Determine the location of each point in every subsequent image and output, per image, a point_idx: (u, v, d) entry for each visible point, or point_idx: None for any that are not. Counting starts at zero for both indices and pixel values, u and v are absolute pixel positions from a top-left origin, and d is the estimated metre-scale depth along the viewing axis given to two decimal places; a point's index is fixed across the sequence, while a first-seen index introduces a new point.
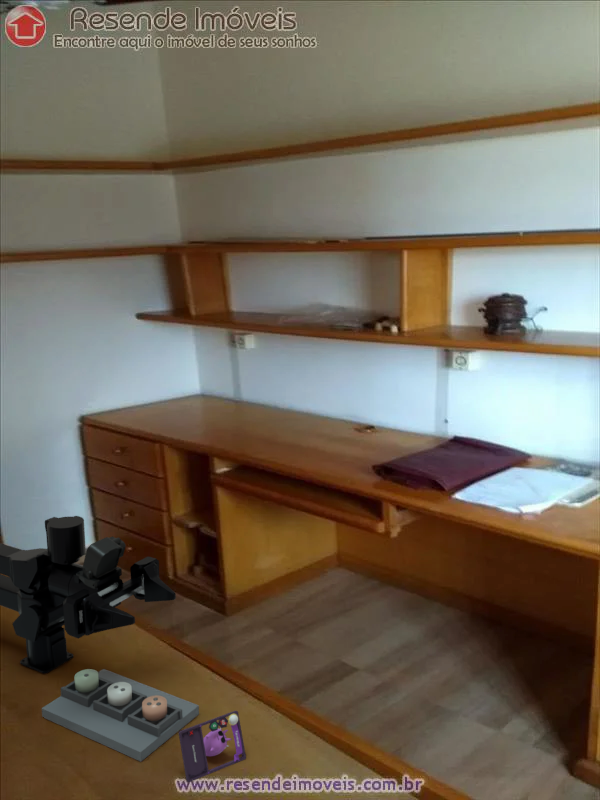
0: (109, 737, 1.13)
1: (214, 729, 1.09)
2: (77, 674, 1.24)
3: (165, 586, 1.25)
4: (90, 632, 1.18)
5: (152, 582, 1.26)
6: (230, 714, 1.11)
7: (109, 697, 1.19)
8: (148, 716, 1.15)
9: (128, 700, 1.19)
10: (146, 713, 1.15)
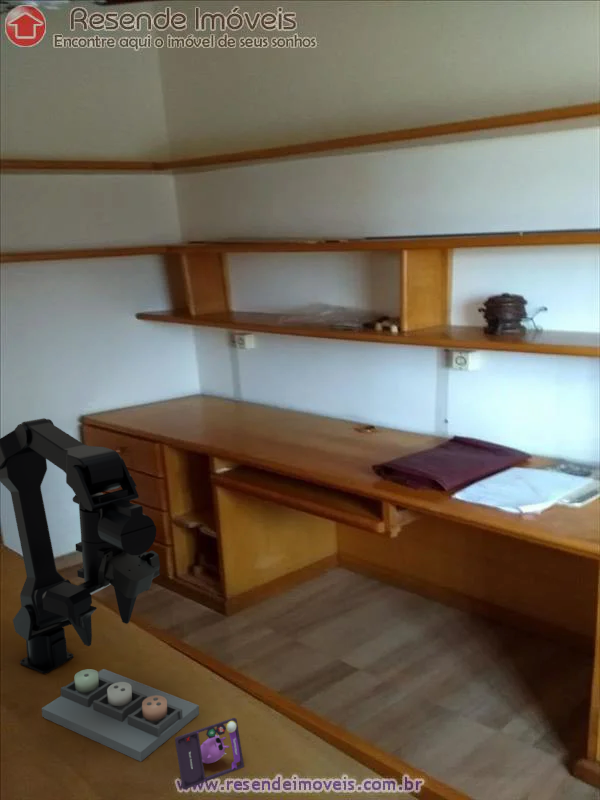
0: (109, 737, 1.13)
1: (211, 736, 1.08)
2: (77, 674, 1.24)
3: (131, 609, 1.22)
4: None
5: None
6: (228, 721, 1.09)
7: (109, 697, 1.19)
8: (148, 716, 1.15)
9: (128, 700, 1.19)
10: (146, 713, 1.15)
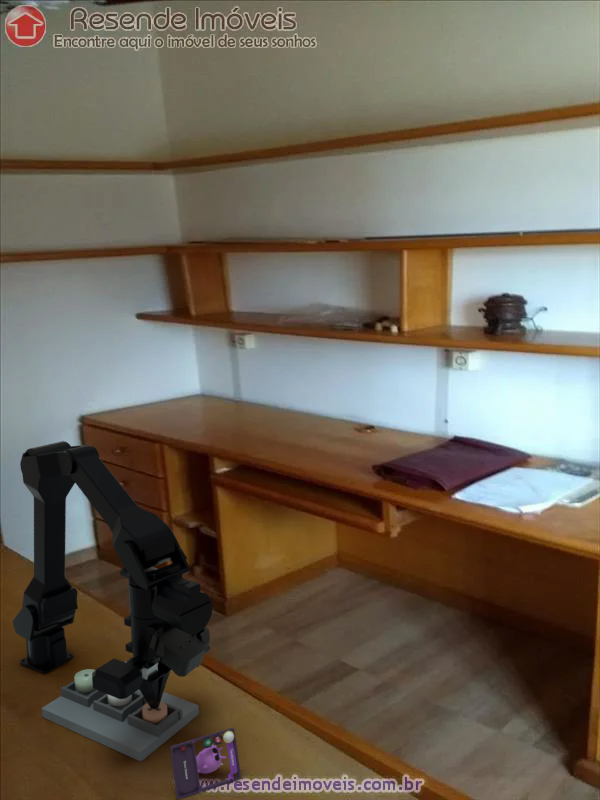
0: (109, 737, 1.13)
1: (208, 746, 1.06)
2: (77, 674, 1.24)
3: (161, 693, 1.16)
4: None
5: (160, 678, 1.15)
6: (226, 731, 1.07)
7: (109, 697, 1.19)
8: None
9: (128, 700, 1.19)
10: (146, 718, 1.15)
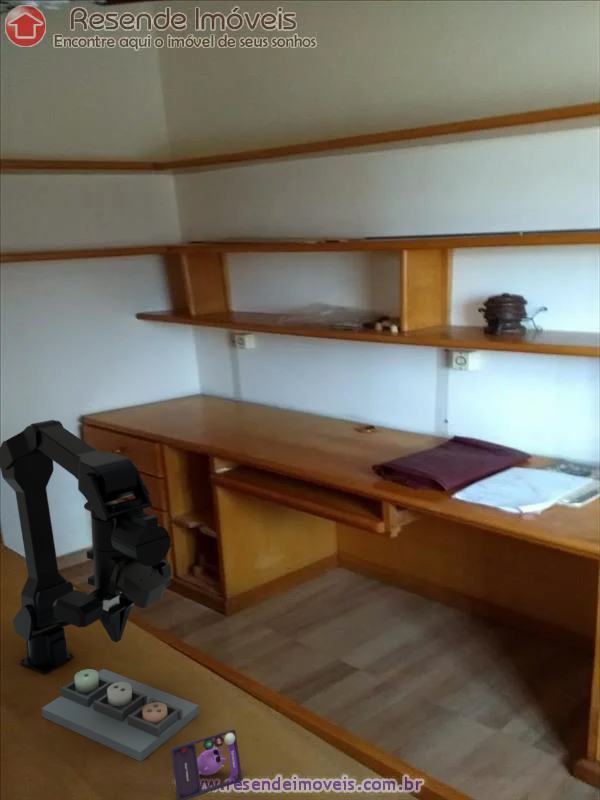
0: (109, 737, 1.13)
1: (209, 748, 1.05)
2: (77, 674, 1.24)
3: (123, 627, 1.18)
4: None
5: (122, 612, 1.17)
6: (227, 733, 1.07)
7: (109, 697, 1.19)
8: None
9: (128, 700, 1.19)
10: (146, 720, 1.15)
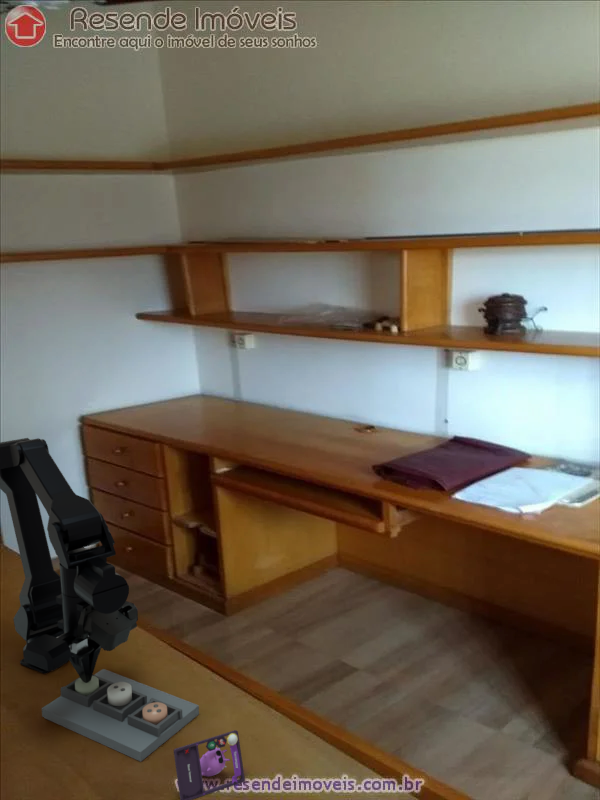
0: (109, 737, 1.13)
1: (211, 748, 1.05)
2: (77, 680, 1.24)
3: (93, 668, 1.23)
4: None
5: (91, 653, 1.23)
6: (229, 734, 1.07)
7: (109, 697, 1.19)
8: None
9: (128, 700, 1.19)
10: (146, 720, 1.15)
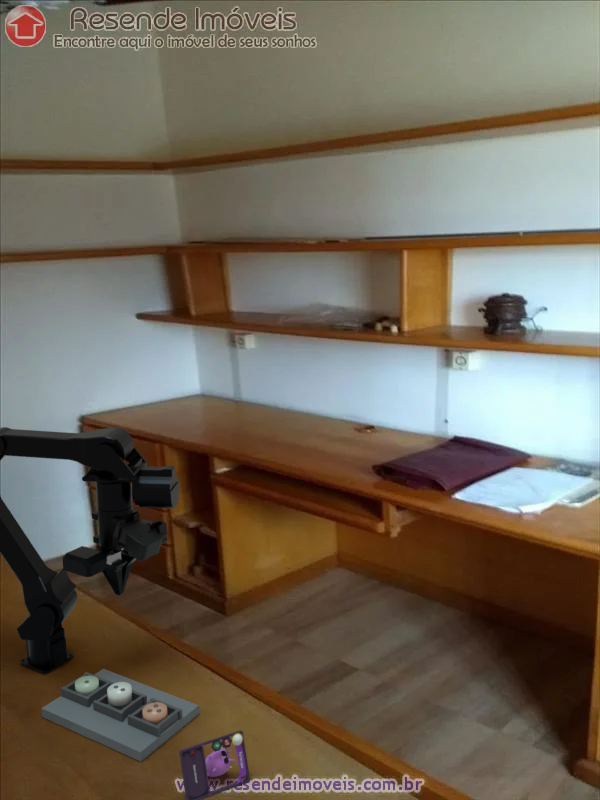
0: (109, 737, 1.13)
1: (217, 749, 1.05)
2: (77, 681, 1.24)
3: (125, 581, 1.32)
4: None
5: (124, 567, 1.31)
6: (234, 734, 1.06)
7: (109, 697, 1.19)
8: None
9: (128, 700, 1.19)
10: (146, 720, 1.15)
